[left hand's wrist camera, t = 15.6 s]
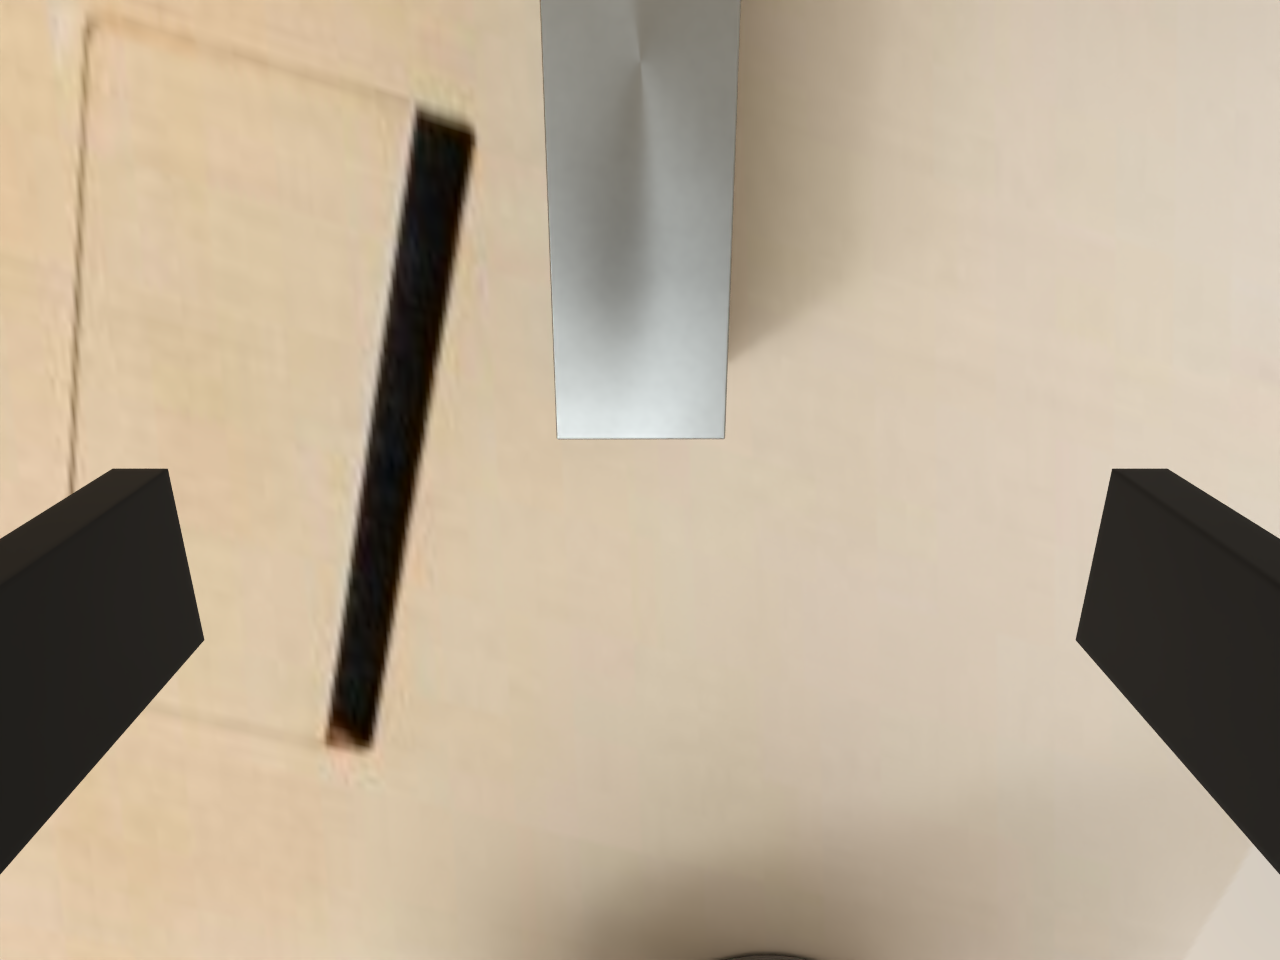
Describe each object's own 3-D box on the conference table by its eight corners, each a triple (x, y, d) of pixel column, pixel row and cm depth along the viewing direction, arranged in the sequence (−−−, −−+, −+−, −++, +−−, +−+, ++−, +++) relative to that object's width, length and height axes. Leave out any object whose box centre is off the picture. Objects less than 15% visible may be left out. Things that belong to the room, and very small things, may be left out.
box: (707, 377, 39) (725, 439, 31) (573, 377, 39) (556, 439, 31) (726, -306, 30) (758, -469, 22) (553, -305, 30) (521, -468, 22)
